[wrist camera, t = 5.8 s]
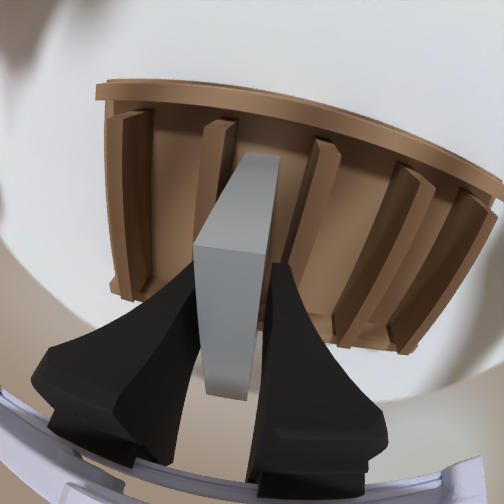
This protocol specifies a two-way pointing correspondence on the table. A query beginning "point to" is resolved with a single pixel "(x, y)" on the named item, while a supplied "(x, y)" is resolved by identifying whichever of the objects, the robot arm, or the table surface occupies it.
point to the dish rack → (296, 203)
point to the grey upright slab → (234, 274)
